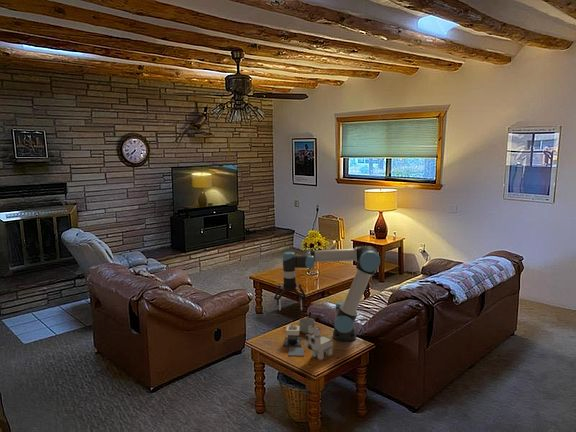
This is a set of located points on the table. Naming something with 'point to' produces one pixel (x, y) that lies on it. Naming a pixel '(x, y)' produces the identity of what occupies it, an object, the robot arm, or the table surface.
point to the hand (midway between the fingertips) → (290, 309)
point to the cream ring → (292, 332)
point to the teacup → (305, 324)
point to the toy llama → (318, 343)
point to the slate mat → (296, 351)
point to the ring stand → (293, 340)
